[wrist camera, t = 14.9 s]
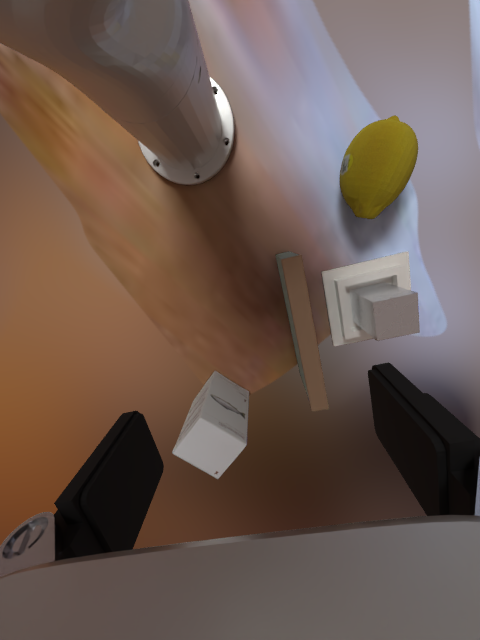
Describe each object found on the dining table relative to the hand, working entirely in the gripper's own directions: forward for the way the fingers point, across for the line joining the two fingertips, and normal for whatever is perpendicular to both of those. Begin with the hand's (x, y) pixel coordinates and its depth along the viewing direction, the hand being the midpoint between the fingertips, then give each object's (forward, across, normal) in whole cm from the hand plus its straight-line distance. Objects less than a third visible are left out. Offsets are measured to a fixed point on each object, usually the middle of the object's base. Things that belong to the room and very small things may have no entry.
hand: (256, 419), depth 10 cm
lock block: (+30, -16, +6) cm, 34 cm away
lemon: (+31, -17, -11) cm, 37 cm away
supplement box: (+31, +10, +17) cm, 36 cm away
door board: (+30, -5, +6) cm, 31 cm away
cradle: (+30, -16, +6) cm, 35 cm away
